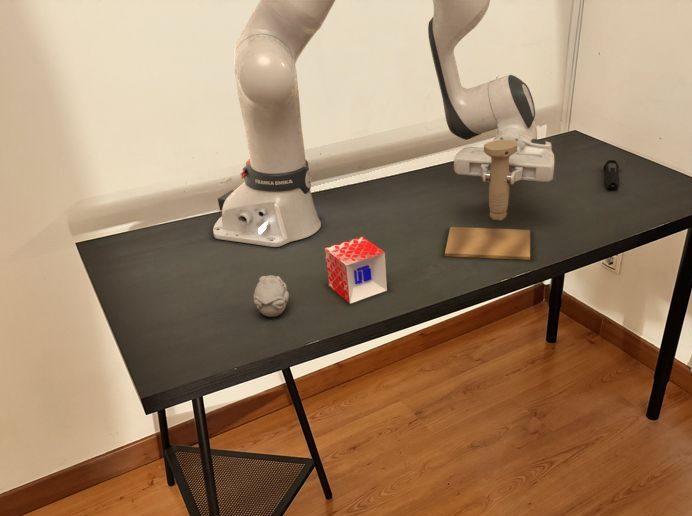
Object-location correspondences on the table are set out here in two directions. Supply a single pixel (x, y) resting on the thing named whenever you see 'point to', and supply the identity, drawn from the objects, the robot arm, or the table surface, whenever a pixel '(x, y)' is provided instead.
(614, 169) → the electric trimmer
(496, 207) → the handle
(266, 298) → the frog figurine
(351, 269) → the red and white cube
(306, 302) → the table surface
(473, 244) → the oak board
